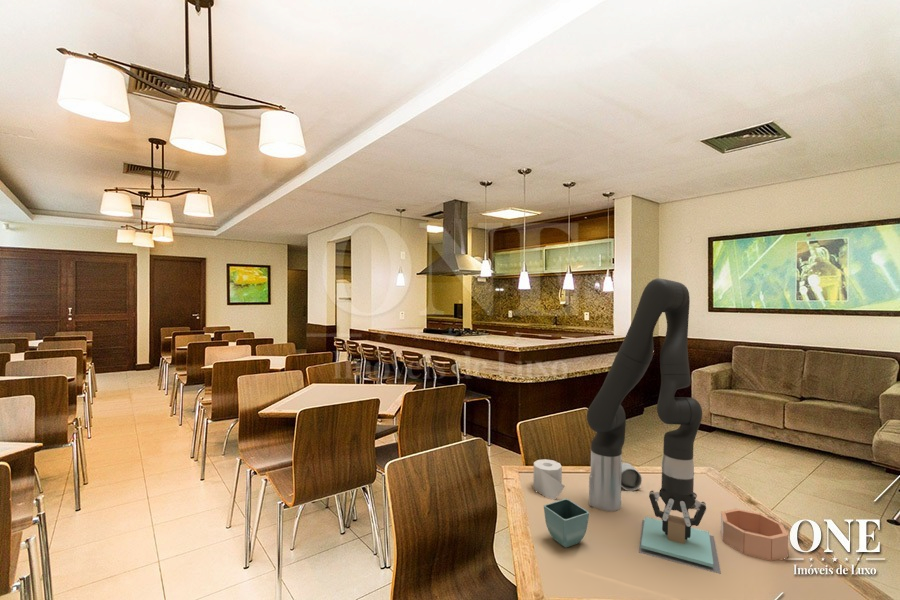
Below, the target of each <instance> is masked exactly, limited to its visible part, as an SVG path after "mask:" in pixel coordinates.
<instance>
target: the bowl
mask: <svg viewBox="0 0 900 600" xmlns="http://www.w3.org/2000/svg"><path fill="white" fill-rule="evenodd" d="M720 534H721V538H722V542H723V543H725V544H726V545H728V546H730V547H731V548H733V549H734V550H736V551H738V552H740V553H741V554H743V555H745V556H750V557H754V558H758V559H762V560H767V561H770V562H772V561H776V560H780V559H784V558H787V557H788V555H789V534H788V531H787V530H786V528H785V525H784V524H783V523H782V522H779V521H777V520H775V519H773V518H771V517H769V516H766V515H764V514H762V513H760V512H754V511H750V510H745V509H740V508H733V509H727V510H722V511H720ZM788 558H789V557H788ZM788 558H787V559H788ZM784 560H785V559H784Z"/></svg>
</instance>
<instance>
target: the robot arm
mask: <svg viewBox="0 0 900 600" xmlns="http://www.w3.org/2000/svg"><path fill="white" fill-rule="evenodd" d="M663 313H664V315H665V319H666V333H665V338H664V340H663V343H662V346H661V348H660V352H659V368H660V369H659V370H660V377H661V383H660V389H659V396H658V399H657V405H656V412H657V415H658V418H659V419H660V421H662V423H664V424H666V425H679V426H678V428H676V429H674V430H669V431H667V432H665V433H664V435H663V452H662V453H663V454H662V459H661V460H662V461H661V488H660V489H659V491H652V490H650V491H649V494H648V495H649V497H648V498H649V501H650V503H651V507H652V510H653V513H654V515H655V517H656V518H660V520H661V521H662V530H663V532H665V534H666V535H668V516H669V515H671V511H677V512H678V513H682V516H683V517H682V518H684V520H685V539H686V540H687V538H690V537H691V528H692V526H696V527H699V526H700V523H701V521H702V519H703V517H704V514H705V513H706V510H707V505H706V502H705V501H699V500H697V499H696V500H695V497H694V495H693V492H694V486H695V485H694V484H695V483H694V479H695V477H694V476H695V463H694V444H695V440H696V438H697V434H698V431H699V428H700V425H701V423H702V419H703V408H702V406H701V403H700V402H699V401H698V400H697V399H695V398H694V397H684V396H683V397H681V396H680V397H675V395H676V392H677V390H680V389H685V388H688V387H690V386H691V382H692V381H691V371H690V361H689V351H688V350H689V349H688V337H689V335H688V333H689V317H690V315H689V313H690V292H689V289H688V288H687V286H686V285H684V284H683V283H681V282H678V281H675V280H670V279H665V278H655V279H652V280H651V281H649V282H648V283H647V285H646V286H645V287H644V289H643V292H642V294H641V297H640V298H639V302H638V305H637V307H636V310H635V314H634V316H633V319H632V321H631V324H630V326H629V328H628V331H627V332H626V335H625V337H624V339H623V341H622V344H621V345H620V347H619V348H618V352H617V353H616V355H615V358H614V360H613V362H612V364H611V366H610V368H609V370H608V373H607V375H606V376H605V379H604V382H603V384H602V386H600V387H601V388H600V390H599V391H598V392H597V394H596V396H595V397H594V399H593V401H592V402H591V403H590V405H589V407H588V409H587V413H586V420H587V425H588V426H589V428H590V429H591V430H592V431H594V432H596V433H595V436H594V437H593V438H592V440H591V442H590V473H589V476H588V477H589V478H588V479H589V481H588V483H589V484H588V506H589V507H592V508H596V509H598V510H600V511H604V512H605V511H606V512H617V511H618V510H619V511H620V509H621V508H622V487H621V472H622V463H623V462H622V458H623V457H622V456H623V447H624V444H625V440H626V423H627V421H626V418H627V417H626V412H625V409H624V407H623V406H622V402H623V401H624V399H625V397H627V395H628V394H629V393H630V392H631V391H632V390H633V389H634V388H635V387H636V385H638V383H639V382H640V381H641V379H643V377H644V375H645V374H646V372H647V370H648V368H649V366H650V364H651V362H652V360H653V357H654V350H655V349H654V347H655V345H654V331H655V328H656V325H657V324H658V321H659V319H660V317H661V316H662V314H663ZM659 499H661V500H662V502H663V503H664V509H663V511H662V510H660V507H659V506H660V505H659V503H658V501H659ZM694 504H695V505H696V507H695V509H696V512H695V513H694V516H693V517H691V516H690V512H689V508H690V507H692V506H693V505H694Z"/></svg>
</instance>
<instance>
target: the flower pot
mask: <svg viewBox="0 0 900 600" xmlns="http://www.w3.org/2000/svg"><path fill="white" fill-rule="evenodd" d="M543 510H544V511H543V513H544V519H545V524H546V527H547V530H548V532H549V534H550V535H551V538H552V539H553V540H554V541H555V542H557V543H558V544H559V545H561V546H562V547H563V548H565V549H566V548H569V547H571V546H575V545H577V544H579V543H581V541H582V540H583V539H584V537H585V535H586V533H587V530H588V523H589V516H590V511H588V510H587V509H585V508H583V507H581V506H579V504H577V503H575V502H573V501H572V500H570V499H569V498H563V499H559V500H557V501H553V502H551V503H546V504H544V505H543Z"/></svg>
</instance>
